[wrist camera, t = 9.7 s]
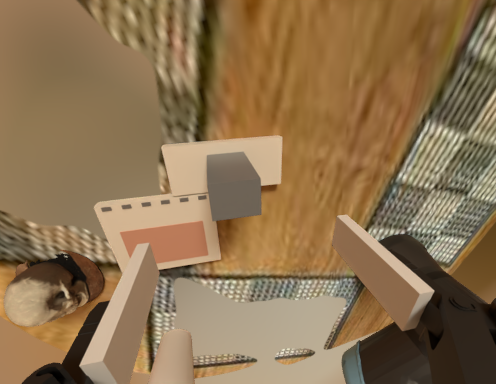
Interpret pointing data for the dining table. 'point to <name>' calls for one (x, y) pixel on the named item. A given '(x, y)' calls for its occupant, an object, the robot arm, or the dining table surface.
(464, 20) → the dining table surface
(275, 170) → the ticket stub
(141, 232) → the white flat piece
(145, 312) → the robot arm
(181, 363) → the foam cup
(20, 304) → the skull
